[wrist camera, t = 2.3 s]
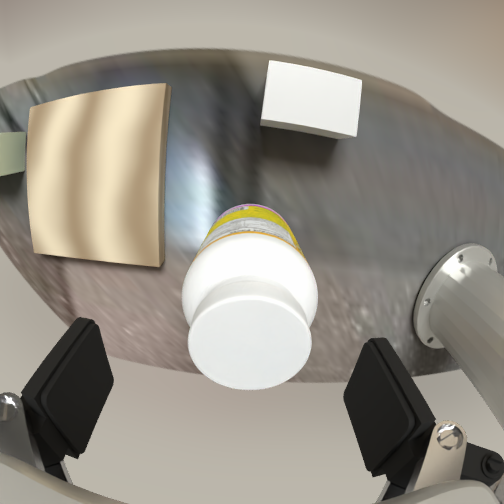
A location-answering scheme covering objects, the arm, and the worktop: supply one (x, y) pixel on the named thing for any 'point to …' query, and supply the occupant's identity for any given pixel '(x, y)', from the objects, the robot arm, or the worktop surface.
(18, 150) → the green block
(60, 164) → the birch board
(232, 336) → the supplement bottle
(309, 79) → the white block
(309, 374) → the worktop surface
